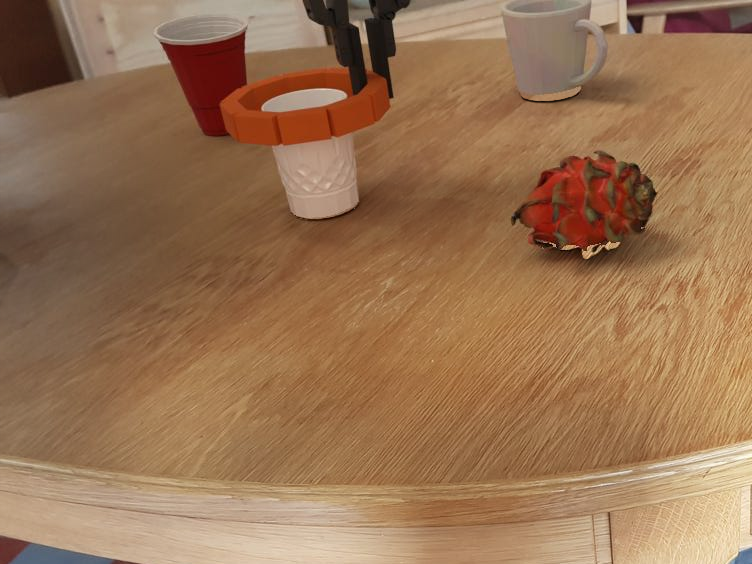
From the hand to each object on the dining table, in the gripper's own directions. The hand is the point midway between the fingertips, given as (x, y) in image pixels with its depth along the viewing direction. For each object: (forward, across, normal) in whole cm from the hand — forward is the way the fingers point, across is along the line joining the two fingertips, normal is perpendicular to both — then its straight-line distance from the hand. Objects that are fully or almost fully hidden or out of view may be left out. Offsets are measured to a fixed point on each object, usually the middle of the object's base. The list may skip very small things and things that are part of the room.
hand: (373, 97), depth 89 cm
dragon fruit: (+9, +8, -24) cm, 27 cm away
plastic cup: (+9, -9, +33) cm, 35 cm away
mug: (+9, +28, +15) cm, 33 cm away
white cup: (+9, -7, 0) cm, 11 cm away
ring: (0, -6, 0) cm, 7 cm away
